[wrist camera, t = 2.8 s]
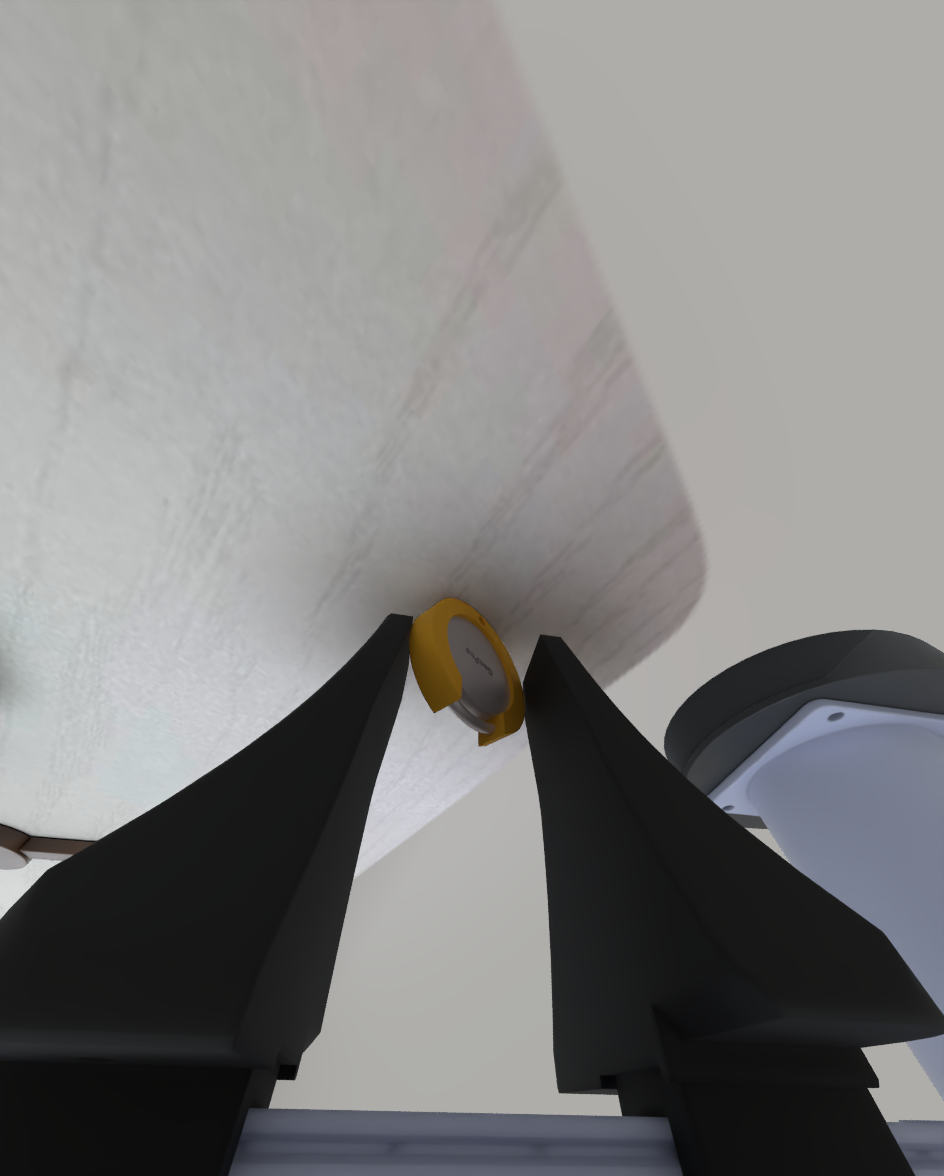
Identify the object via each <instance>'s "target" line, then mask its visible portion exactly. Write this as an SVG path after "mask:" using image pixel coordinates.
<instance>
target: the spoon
mask: <svg viewBox="0 0 944 1176" xmlns="http://www.w3.org/2000/svg"><path fill="white" fill-rule="evenodd" d="M93 843H95V842H86V841H74V840H62V839H49V838H37V837H32V838H31V837H29V836H27V835H25V834H23V833H21V832H19V831H17V830H14V829H11V828H8V827H5V826H2V825H0V869H4V870H10V869H19V868H23V867H25V866H26V865H27V864H28V863H29V862H30V861H31V860H32V859H46V860H59V861H64V860H65V859H67V858H69V857H71V856H72V855H74V854H76V853H78V852H79V851H81V850H83V849H84V848H86V847H88V846H90V845H91V844H93Z"/></svg>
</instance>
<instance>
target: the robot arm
mask: <svg viewBox="0 0 944 1176" xmlns="http://www.w3.org/2000/svg"><path fill="white" fill-rule="evenodd" d="M412 623H413V616H407V615H399V614H392V613H391V614H390V615H388V616H387V617H386V619H385V620H384V621H383V623H382V624H381V625H380V626H379V628H378V629H377V630H376V631H375V633H374V634H373V635H372V636H371V637H370V638H369V639H368V641H367V642H366V643H365V644H364V645H363V646H362V647H361V648H360V649H359V650H358V651H357V653H356V654H355V655H354V656H353V657H352V658H351V659H350V660H349V661H348V662H347V663H346V664H345V665H344V666H343V667H342V668H341V669H340V670H339V671H338V672H337V673H336V674H335V675H334V676H333V677H331V678H330V679H329V680H328V681H327V682H326V683H325V684H324V685H323V686H322V687H321V688H320V689H319V690H318V691H316V692H315V693H314V694H313V695H312V696H311V697H310V698H308V699H307V700H306V701H305V702H304V703H303V704H301V705H300V706H299V707H298V708H296V709H295V710H294V711H293V712H292V713H290V714H289V715H288V716H287V717H285V718H284V719H283V720H282V721H280V722H279V723H278V724H276V725H275V726H274V727H272V728H271V729H270V730H268V731H267V732H266V733H264V734H263V735H262V736H260V737H259V738H258V739H256V740H255V741H254V742H252V743H251V744H250V745H248V746H247V747H245V748H244V749H243V750H241V751H240V752H238V753H237V754H235V755H234V756H233V757H231V758H230V759H228V760H227V761H225V762H224V763H222V764H221V765H219V766H218V767H216V768H215V769H213V770H212V771H210V772H208V773H207V774H205V775H204V776H202V777H201V778H199V779H198V780H196V781H195V782H193V783H192V784H190V785H189V786H187V787H186V788H184V789H182V790H181V791H179V792H178V793H176V794H175V795H173V796H172V797H170V798H169V799H167V800H165V801H164V802H162V803H161V804H159V805H157V806H156V807H154V808H152V809H151V810H149V811H147V812H146V813H144V814H142V815H141V816H139V817H137V818H136V819H134V820H132V821H130V822H129V823H127V824H125V825H124V826H122V827H120V828H118V829H117V830H115V831H113V832H112V833H110V834H108V835H107V836H105V837H103V838H101V839H100V840H98V841H96V842H95V843H93V844H91V845H90V846H88V847H86V848H84V849H83V850H81V851H79V852H78V853H76V854H74V855H72V856H71V857H69V858H67V859H65V860H64V861H62V862H60V863H58V864H57V865H55V866H53V867H52V868H50V869H48V870H47V871H46V872H45V873H44V874H43V875H42V876H41V877H40V878H39V879H38V880H37V881H36V882H35V883H34V884H33V885H32V886H31V888H30V889H29V890H28V891H27V892H26V893H25V894H24V895H23V896H22V897H21V898H20V899H19V900H18V901H17V902H16V903H15V904H14V905H13V906H12V907H11V908H10V909H9V910H8V911H7V913H6V914H5V915H4V916H3V917H2V918H1V919H0V1176H944V1121H924V1120H923V1121H921V1120H899V1122H886V1121H885V1119H884V1117H883V1116H882V1114H881V1112H880V1110H879V1108H878V1107H877V1105H876V1103H875V1101H874V1099H873V1097H872V1096H871V1094H870V1092H869V1090H868V1088H879V1080H878V1078H877V1076H876V1074H875V1072H874V1071H873V1069H872V1067H871V1066H870V1064H869V1062H868V1060H867V1058H866V1057H865V1055H864V1053H863V1052H862V1050H861V1048H862V1047H869V1046H877V1045H885V1044H892V1043H900V1042H906V1043H907V1045H908V1046H909V1047H910V1049H911V1051H912V1052H913V1054H914V1055H915V1057H916V1059H917V1060H918V1062H919V1063H920V1065H921V1066H922V1068H923V1069H924V1071H925V1072H926V1074H927V1076H928V1077H929V1079H930V1080H931V1082H932V1083H933V1085H934V1086H935V1088H936V1089H937V1091H938V1092H939V1094H940V1096H941V1097H942V1099H943V1100H944V715H942V714H934V713H927V712H919V711H912V710H905V709H897V708H890V707H882V706H875V705H868V704H860V703H853V702H845V701H838V700H830V699H815V700H812V701H809V702H807V703H806V704H805V705H803V706H802V707H801V708H800V709H799V710H798V711H797V712H796V713H795V714H794V715H793V716H792V717H791V718H789V719H788V720H787V721H786V722H785V723H784V724H783V725H782V726H781V727H780V728H779V729H778V730H777V731H776V732H775V733H773V734H772V735H771V736H770V737H769V738H768V739H767V740H766V741H765V742H764V743H763V744H762V745H761V746H760V747H758V748H757V749H756V750H755V751H754V752H753V753H752V754H751V755H750V756H749V757H748V758H747V759H746V760H745V761H743V762H742V763H741V764H740V765H739V766H738V767H737V768H736V769H735V770H734V771H733V772H732V773H731V774H730V775H728V776H727V777H726V778H725V779H724V780H723V781H722V782H721V783H720V784H719V785H718V786H717V787H716V788H715V789H713V790H712V791H711V792H710V793H709V794H708V795H707V796H706V795H705V794H704V793H703V792H702V791H700V790H699V789H698V788H697V787H696V786H695V785H694V784H692V783H691V782H690V781H689V780H688V779H687V778H686V777H685V776H684V775H683V774H682V773H680V772H679V771H678V770H677V769H676V768H675V767H674V766H673V765H672V764H671V763H670V762H669V761H668V760H667V759H666V758H665V757H664V756H663V755H662V754H661V753H660V752H658V750H657V749H655V747H654V746H653V745H651V743H650V742H649V741H648V740H646V738H645V737H644V736H643V735H642V734H641V733H640V732H639V731H638V730H637V729H636V728H635V727H634V726H633V724H632V723H631V722H630V721H629V720H628V719H627V718H626V717H625V716H624V715H623V714H622V712H621V711H620V710H619V709H618V708H617V707H616V706H615V704H614V703H613V702H612V701H611V700H610V699H609V697H608V696H607V695H606V694H605V693H604V691H603V690H602V689H601V688H600V686H599V685H598V684H597V683H596V682H595V680H594V679H593V678H592V677H591V675H590V674H589V673H588V672H587V670H586V669H585V668H584V666H583V665H582V664H581V663H580V661H579V660H578V659H577V657H576V656H575V655H574V654H573V652H572V651H571V650H570V648H569V647H568V646H567V645H566V643H565V642H564V641H563V640H562V638H561V637H555V636H548V635H541V634H540V637H539V639H538V642H537V645H536V648H535V650H534V653H533V656H532V659H531V661H530V664H529V667H528V670H527V672H526V675H525V678H524V681H523V695H524V702H525V721H526V727H527V733H528V739H529V745H530V750H531V756H532V761H533V767H534V772H535V778H536V783H537V789H538V795H539V802H540V809H541V818H542V830H543V841H544V852H545V866H546V879H547V880H546V881H547V894H548V912H549V931H550V949H551V974H552V975H551V976H552V977H551V978H552V1008H553V1051H554V1061H555V1070H556V1078H557V1087H558V1091H559V1093H569V1094H570V1093H571V1094H606V1095H618V1096H619V1102H620V1107H621V1112H622V1116H583V1115H580V1116H579V1115H538V1114H537V1115H536V1114H492V1113H446V1112H401V1111H356V1110H355V1111H352V1110H310V1109H268V1108H269V1104H270V1101H271V1097H272V1094H273V1090H274V1087H275V1084H276V1080H295V1079H296V1076H297V1072H298V1068H299V1064H300V1061H301V1057H302V1053H303V1052H304V1051H305V1050H306V1049H307V1048H308V1047H309V1045H310V1044H311V1043H312V1042H313V1041H314V1040H315V1038H316V1037H317V1036H318V1035H319V1033H320V1032H321V1027H322V1022H323V1017H324V1013H325V1008H326V1003H327V998H328V993H329V989H330V984H331V979H332V975H333V970H334V965H335V960H336V956H337V950H338V946H339V941H340V936H341V932H342V927H343V923H344V918H345V914H346V909H347V904H348V900H349V895H350V891H351V886H352V882H353V877H354V873H355V868H356V864H357V859H358V855H359V850H360V846H361V841H362V837H363V832H364V828H365V824H366V819H367V815H368V811H369V806H370V802H371V798H372V794H373V790H374V787H375V783H376V779H377V776H378V773H379V770H380V767H381V763H382V760H383V757H384V754H385V751H386V748H387V745H388V741H389V738H390V735H391V732H392V729H393V726H394V723H395V719H396V716H397V713H398V710H399V707H400V704H401V700H402V696H403V691H404V686H405V681H406V676H407V671H408V665H409V654H410V652H409V636H410V631H411V627H412ZM727 813H732V814H742V815H752V816H760V817H761V819H762V820H763V822H764V823H765V825H766V826H767V828H768V830H769V831H770V833H771V834H772V836H773V837H774V839H775V840H776V842H777V843H778V845H779V847H780V848H781V850H782V851H783V852H784V854H785V856H786V857H787V859H788V861H789V862H790V863H788V862H787V861H786V860H784V859H783V858H782V857H781V856H779V855H778V854H777V853H775V852H774V851H773V850H772V849H770V848H769V847H768V846H767V845H765V844H764V843H763V842H761V841H760V840H759V839H758V838H756V837H755V836H754V835H753V834H751V833H750V832H749V831H748V830H746V829H745V828H744V827H743V826H742V825H740V824H739V823H738V822H737V821H735V820H734V819H733V818H732V817H731V816H729V815H728V814H727Z"/></svg>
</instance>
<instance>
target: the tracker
mask: <svg viewBox="0 0 944 1176" xmlns="http://www.w3.org/2000/svg"><path fill="white" fill-rule="evenodd" d="M409 652H410V659H411V664H412V668H413V671H414V675H415V678H416V680H417V683H418V685H419V688H420V690H421V692H422V694H423V696H424V698H425V700H426V701H427V703H428V705H429V706H430V708H431V709H432V711H433V712H434V713H436V712H437V711H439V710H441V709H443V708H445V707H447V706H449V707H450V708H451V710H452V711H453V712H454V713H455V714H456V715H457V716H458V717H459V718H460V719H461V720H462V721H463V722H464V723H465V724H466V725H468V726H469V727H470V728H472V729H474V730H475V731H477V732H478V744H479V746H486V745H489V744H491V743H493V742H496V741H498V740H500V739H502V738H504V737H506V736H509V735H511V734H513V733H515V732H517V731H518V730H519V729H520V727H521V726H522V724H523V721H524V715H525V702H524V695H523V690H522V686H521V682H520V679H519V676H518V673H517V671H516V668H515V666H514V663H513V661H512V659H511V657H510V655H509V653H508V651H507V649H506V648H505V646H504V644H503V643H502V641H501V640H500V638H499V636H498V635H497V634H496V632H495V631H494V630H493V628H492V627H491V626H490V624H489V623H488V622H487V621H486V620H485V619H484V618H483V617H482V616H481V615H480V614H479V613H478V612H477V611H476V610H475V609H473V608H472V607H471V606H469V605H468V604H466V603H465V602H463V601H461V600H458V599H455V598H446V599H443V600H441V601H440V602H438V603H437V604H435V605H434V606H433V607H431V608H430V609H428V610H427V611H425V612H424V613H423V614H421V615H420V616H418V617H417V618H416V620H415V621H414V623H413V625H412V627H411V631H410V636H409Z"/></svg>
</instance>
